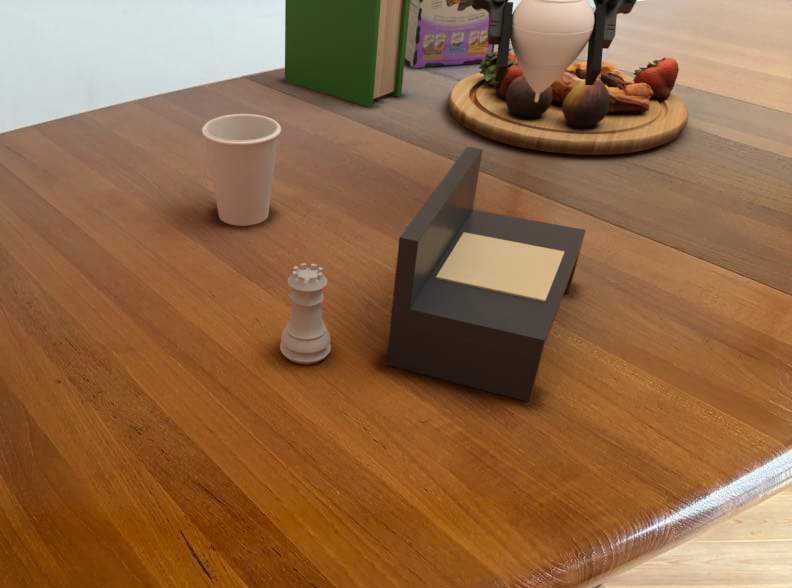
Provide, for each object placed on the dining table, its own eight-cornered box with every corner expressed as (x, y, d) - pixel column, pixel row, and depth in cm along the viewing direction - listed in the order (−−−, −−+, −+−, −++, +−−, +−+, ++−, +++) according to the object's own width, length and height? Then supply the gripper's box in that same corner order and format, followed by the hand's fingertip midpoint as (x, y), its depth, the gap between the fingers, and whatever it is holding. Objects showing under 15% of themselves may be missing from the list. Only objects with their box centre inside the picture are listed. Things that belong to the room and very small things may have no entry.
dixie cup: (197, 205, 95) (192, 119, 89) (265, 194, 97) (264, 109, 91) (220, 236, 89) (216, 146, 82) (291, 223, 91) (293, 134, 85)
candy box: (478, 53, 140) (495, -56, 130) (492, 63, 136) (510, -49, 125) (401, 58, 139) (411, -52, 128) (412, 68, 134) (424, -45, 124)
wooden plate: (658, 84, 126) (674, 27, 121) (711, 165, 102) (734, 98, 96) (446, 76, 131) (453, 20, 126) (448, 152, 106) (457, 87, 101)
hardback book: (401, 95, 124) (418, -89, 109) (368, 107, 120) (382, -82, 105) (317, 70, 134) (322, -101, 119) (284, 80, 130) (286, -95, 115)
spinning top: (529, 120, 79) (556, -18, 71) (481, 96, 84) (501, -34, 77) (592, 107, 81) (625, -28, 73) (542, 85, 86) (567, -42, 79)
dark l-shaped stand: (571, 286, 79) (602, 167, 72) (529, 402, 65) (562, 269, 58) (449, 261, 84) (466, 146, 76) (385, 365, 70) (399, 237, 62)
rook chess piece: (334, 365, 70) (339, 283, 65) (282, 368, 70) (283, 286, 65) (326, 335, 73) (330, 256, 68) (277, 338, 73) (277, 258, 68)
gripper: (664, -117, 82) (647, 100, 80) (454, -118, 85) (433, 91, 83) (693, -178, 75) (676, 59, 72) (462, -177, 78) (439, 50, 76)
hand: (546, 75), depth 78 cm, fingers closed on spinning top, 8 cm apart
